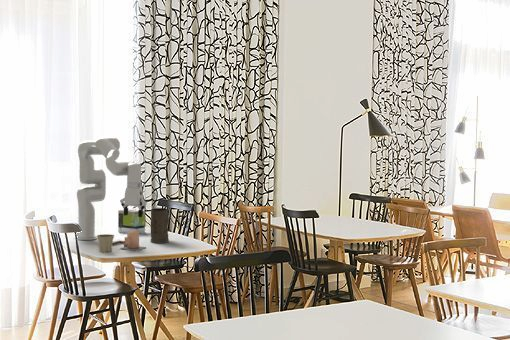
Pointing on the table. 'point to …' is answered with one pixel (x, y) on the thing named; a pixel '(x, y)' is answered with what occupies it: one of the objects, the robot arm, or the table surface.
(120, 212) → the tea box
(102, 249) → the flower pot
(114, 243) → the cradle
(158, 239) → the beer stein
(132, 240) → the jug
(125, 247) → the coaster
